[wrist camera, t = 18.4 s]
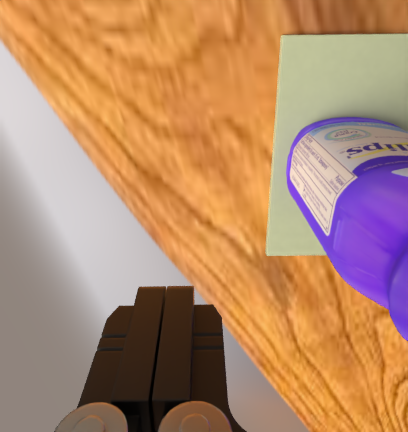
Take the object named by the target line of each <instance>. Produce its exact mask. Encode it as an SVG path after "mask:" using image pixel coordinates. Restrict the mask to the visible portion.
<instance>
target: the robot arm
mask: <svg viewBox="0 0 408 432" xmlns="http://www.w3.org/2000/svg"><path fill="white" fill-rule="evenodd" d="M54 432H246V431H245V430H244V429H242V428H241V426H240V425H239V424H238V423H237V422H236V421H235V419H234V418H233V416H232V414H231V412H230V409H229V405H228V398H227V384H226V371H225V356H224V342H223V329H222V317H221V316H220V314H219V313H218V311H217V310H216V308H215V307H214V305H194V286H168V287H167V289H166V287H165V286H163V287H139V288H138V292H137V295H136V299H135V303H134V306H119V307H118V308H117V309H116V310H115V311H114V312H113V313H112V314H111V315H110V316H109V317H108V319H107V321H106V323H105V327H104V329H103V332H102V338H101V339H100V342H99V345H98V347H97V351H96V353H95V356H94V359H93V362H92V365H91V368H90V372H89V374H88V377H87V380H86V383H85V386H84V390H83V392H82V395H81V398H80V401H79V404H78V406H77V409H75V410H73V411H72V412H70V413H69V414H68V415H67V416H66V417H65V418H64V419H63V420H62V421H61V422H60V423H59V425H58V426H57V427H56V429H55V431H54Z"/></svg>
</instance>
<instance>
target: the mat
mask: <svg viewBox="0 0 408 432" xmlns="http://www.w3.org/2000/svg"><path fill="white" fill-rule="evenodd" d="M338 117H362V118H372V119H377V120H382V121H385V122H389V123H392V124H394V125H396V126H398V127H400V128H401V129H403V130H406V131H408V34H325V35H281V40H280V54H279V68H278V82H277V96H276V110H275V124H274V138H273V152H272V166H271V180H270V194H269V208H268V222H267V236H266V250H265V252H266V255H267V256H298V255H327V254H326V252H325V251H324V249H323V247H322V245H321V244H320V242H319V240H318V239H317V237H316V236H315V234H314V232H313V230H312V229H311V227H310V225H309V224H308V222H307V220H306V219H305V217H304V215H303V214H302V212H301V210H300V209H299V207H298V205H297V203H296V202H295V200H294V199H293V197H292V196H291V194H290V192H289V190H288V187H287V176H286V168H287V160H288V155H289V153H290V148H291V145H292V143H293V141H294V139H295V138H296V136H297V135H298V133H299V132H300V131H301V130H302V129H303V128H304V127H306V126H308V125H310V124H312V123H314V122H318V121H321V120H325V119H330V118H338Z"/></svg>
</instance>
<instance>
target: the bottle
mask: <svg viewBox="0 0 408 432" xmlns="http://www.w3.org/2000/svg"><path fill="white" fill-rule="evenodd" d="M286 176H287V187H288V190H289V192H290V194H291V196H292V197H293V199H294V200H295V202H296V203H297V205H298V207H299V209H300V210H301V212H302V214H303V215H304V217H305V219H306V220H307V222H308V224H309V225H310V227H311V229H312V230H313V232H314V234H315V236H316V237H317V239H318V240H319V242H320V244H321V245H322V247H323V249H324V251H325V252H326V254H327V256H328V257H329V259H330V260H331V262H332V264H333V266H334V268H335V269H336V270H337V272H338V273H339V274H340V276H341V277H342V278H343V279H344V280H345V281H346V282H347V283H348V284H349V285H351V286H352V287H353V288H354V289H356V290H357V291H358V292H360V293H361V294H363V295H365V296H366V297H368V298H370V299H371V300H373V301H375V302H377V303H378V304H380V305H381V306H384V307H385V308H387V309H389V312H390V316H391V318H392V320H393V322H394V324H395V326H396V328H397V330H398V332H399V333H400V334H401V335H402V337H403V338H404V339H405V340H407V341H408V131H406V130H403V129H401V128H400V127H398V126H396V125H394V124H392V123H389V122H385V121H382V120H377V119H372V118H362V117H338V118H330V119H325V120H321V121H318V122H314V123H312V124H310V125H308V126H306V127H304V128H303V129H302V130H301V131H300V132H299V133H298V135H297V136H296V138H295V139H294V141H293V143H292V145H291V148H290V153H289V155H288V160H287V168H286Z"/></svg>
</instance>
